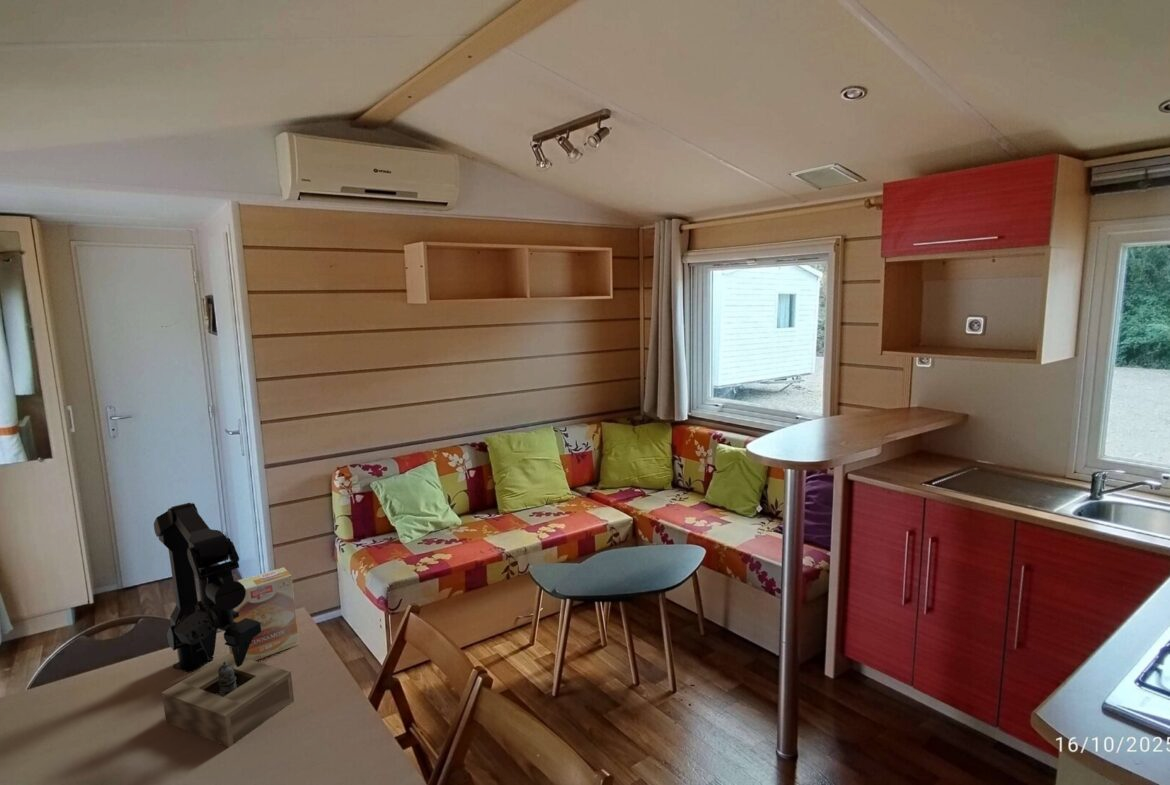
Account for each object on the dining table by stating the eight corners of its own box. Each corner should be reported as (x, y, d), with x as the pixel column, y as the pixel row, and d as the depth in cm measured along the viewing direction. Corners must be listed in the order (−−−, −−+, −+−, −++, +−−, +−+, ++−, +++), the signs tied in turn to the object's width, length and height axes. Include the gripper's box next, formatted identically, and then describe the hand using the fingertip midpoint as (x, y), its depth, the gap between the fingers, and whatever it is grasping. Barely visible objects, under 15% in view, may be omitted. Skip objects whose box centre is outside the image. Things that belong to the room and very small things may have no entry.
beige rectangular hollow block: (166, 722, 138) (161, 692, 137) (233, 680, 152) (230, 653, 151) (229, 747, 129) (224, 715, 128) (294, 700, 144) (290, 671, 143)
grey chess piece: (214, 709, 141) (207, 660, 139) (244, 698, 145) (237, 650, 143) (218, 723, 137) (210, 672, 135) (249, 712, 140) (241, 662, 138)
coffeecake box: (236, 668, 157) (227, 594, 154) (229, 656, 162) (220, 584, 159) (300, 644, 167) (292, 574, 163) (291, 634, 172) (283, 565, 169)
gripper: (149, 603, 133) (160, 672, 135) (209, 620, 125) (219, 692, 128) (200, 580, 143) (209, 645, 145) (259, 595, 135) (267, 662, 138)
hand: (224, 661), depth 139 cm, fingers open, 9 cm apart
